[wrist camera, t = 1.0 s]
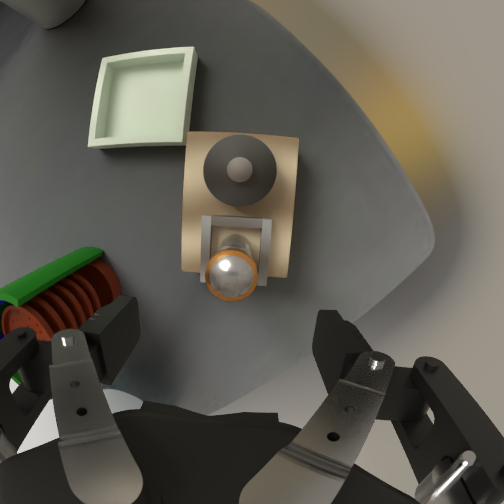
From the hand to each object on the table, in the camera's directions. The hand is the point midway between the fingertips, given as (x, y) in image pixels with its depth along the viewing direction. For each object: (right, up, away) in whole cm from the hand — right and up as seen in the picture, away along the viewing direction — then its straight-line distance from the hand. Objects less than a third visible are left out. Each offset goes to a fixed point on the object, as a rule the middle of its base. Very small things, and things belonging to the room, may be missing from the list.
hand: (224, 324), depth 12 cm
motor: (-19, -1, +19) cm, 27 cm away
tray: (-10, +20, +14) cm, 26 cm away
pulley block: (0, +8, +17) cm, 19 cm away
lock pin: (0, +3, +14) cm, 14 cm away
